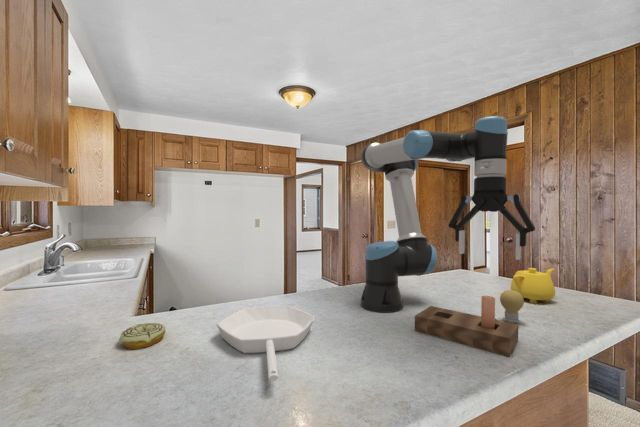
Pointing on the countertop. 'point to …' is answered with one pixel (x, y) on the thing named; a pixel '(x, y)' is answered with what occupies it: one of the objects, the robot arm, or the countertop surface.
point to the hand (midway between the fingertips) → (488, 256)
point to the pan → (266, 331)
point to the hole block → (467, 330)
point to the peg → (488, 312)
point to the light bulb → (511, 305)
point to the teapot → (534, 285)
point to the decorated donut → (142, 335)
